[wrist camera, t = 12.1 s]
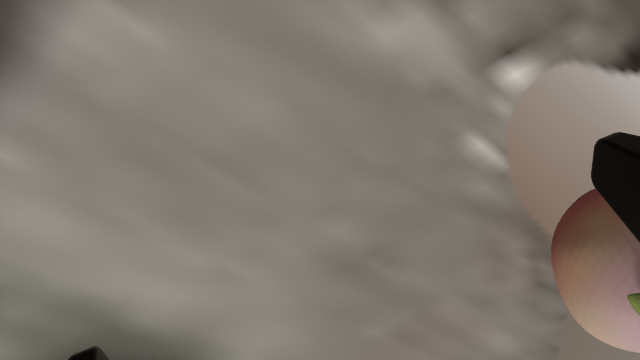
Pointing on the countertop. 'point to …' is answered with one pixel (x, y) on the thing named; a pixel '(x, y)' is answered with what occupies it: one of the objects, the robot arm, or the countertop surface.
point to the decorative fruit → (599, 271)
